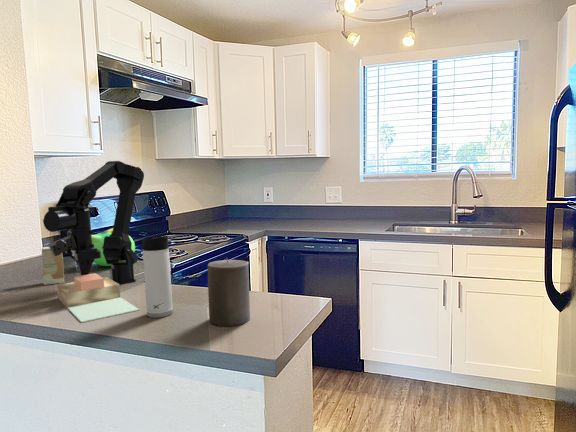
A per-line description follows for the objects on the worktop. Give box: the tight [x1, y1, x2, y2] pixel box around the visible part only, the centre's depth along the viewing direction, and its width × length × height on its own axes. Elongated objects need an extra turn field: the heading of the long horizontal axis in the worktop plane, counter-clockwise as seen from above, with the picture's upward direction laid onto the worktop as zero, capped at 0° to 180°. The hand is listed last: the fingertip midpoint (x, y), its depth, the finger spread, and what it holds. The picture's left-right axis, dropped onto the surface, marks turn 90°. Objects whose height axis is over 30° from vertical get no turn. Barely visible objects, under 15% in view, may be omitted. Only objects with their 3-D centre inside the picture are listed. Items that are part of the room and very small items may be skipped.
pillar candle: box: [207, 257, 251, 328], centre depth 105 cm, size 10×10×15 cm
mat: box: [67, 296, 140, 324], centre depth 118 cm, size 14×16×1 cm
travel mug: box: [141, 235, 174, 319], centre depth 111 cm, size 6×7×20 cm
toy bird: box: [91, 227, 136, 267], centre depth 175 cm, size 18×17×15 cm
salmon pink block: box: [73, 272, 104, 291], centre depth 127 cm, size 6×9×2 cm, turn 37°
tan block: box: [56, 276, 121, 309], centre depth 129 cm, size 14×13×4 cm
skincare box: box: [41, 246, 65, 286], centre depth 150 cm, size 6×4×12 cm
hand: (84, 279), depth 132 cm, fingers closed
